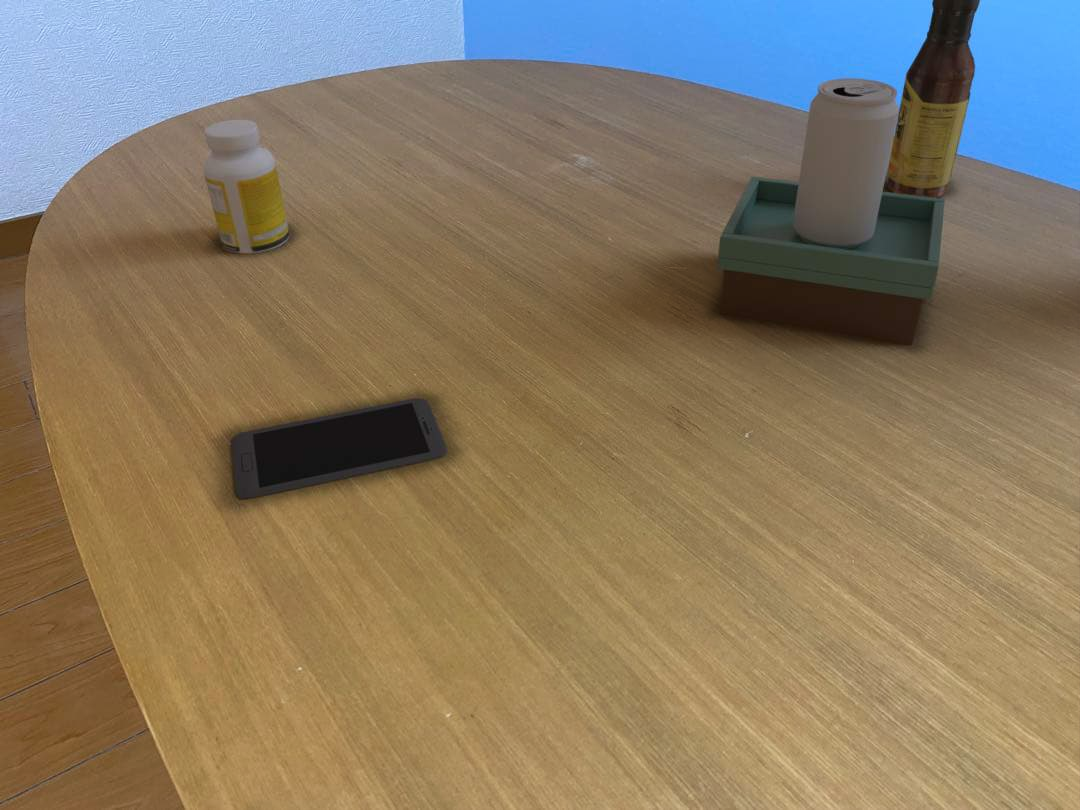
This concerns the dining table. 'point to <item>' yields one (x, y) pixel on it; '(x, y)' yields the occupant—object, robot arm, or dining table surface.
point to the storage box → (830, 266)
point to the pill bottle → (244, 188)
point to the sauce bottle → (934, 103)
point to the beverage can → (845, 162)
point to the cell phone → (334, 448)
